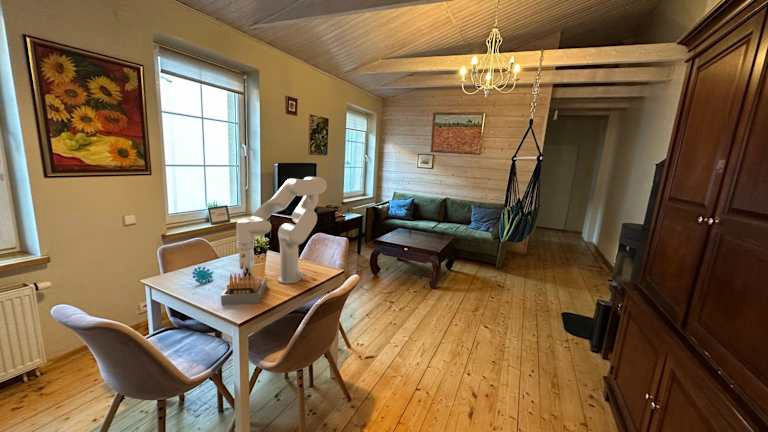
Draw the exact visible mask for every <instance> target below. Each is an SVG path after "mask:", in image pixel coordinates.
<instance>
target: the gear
mask: <svg viewBox="0 0 768 432" xmlns="http://www.w3.org/2000/svg"><path fill="white" fill-rule="evenodd" d="M210 271H211V270H210V269H209V268H207V269H206V267H205V266H203V267H201V266H198V267H197V268H194V269H193V271H192V272H191V275H192V278H193V279H194V281H195V282H199V284H201V285H202V284H203V282H204V284H208V282H209V283H210V282H211V281H212V279H213V277H214V276H213V274H214V273H215V271H211V272H210Z"/></svg>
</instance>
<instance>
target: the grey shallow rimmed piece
mask: <svg viewBox="0 0 768 432" xmlns="http://www.w3.org/2000/svg"><path fill="white" fill-rule="evenodd" d="M266 287H267V277H266V276H265V277H263V279H262V280H261V285H260V288H259V290H258V292H257V293H246V294H227V287H225V289H224V290H223V292H222V293H221V295H220V302H221V303H220V305H221V306H224V305H245V304H260V302H261V299H262V297H263V294H264V292H265V290H266Z"/></svg>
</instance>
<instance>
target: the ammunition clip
mask: <svg viewBox="0 0 768 432" xmlns="http://www.w3.org/2000/svg"><path fill="white" fill-rule="evenodd" d="M241 275H242V276H241ZM233 277H234V285H233ZM237 277H238V283H237ZM241 277H242V282H241ZM253 277H254V275H253V273H252V272H251V276H250V281H249V275H248V273H247V275H246V282H245V275H244V273H243V272H242V274H240V273H238V275H237V274H236V273H234V275H233V274H232V273H230V275H229V281H230V283H229V285H230V289H229V294H246V293H255V291H254V281H253Z"/></svg>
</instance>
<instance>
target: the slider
mask: <svg viewBox="0 0 768 432" xmlns="http://www.w3.org/2000/svg"><path fill="white" fill-rule="evenodd" d="M232 277H233V285H234V276H232ZM249 281H250V276H249ZM253 281H254V291H255V293H257V292H258V290H259V288H260V285H261V283H262V278H261V276H253ZM241 282H242V276H241ZM245 282H246V277H245ZM229 283H230V280H229V281H228V282H227V284H226V288H227V294H229V289H230V285H229ZM237 283H238V276H237Z"/></svg>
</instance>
